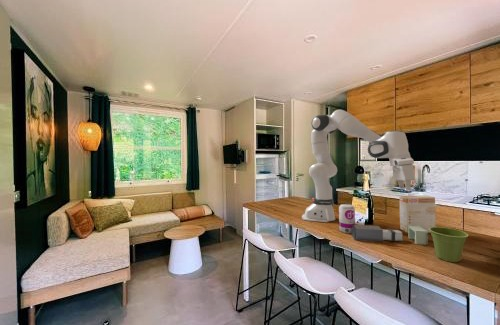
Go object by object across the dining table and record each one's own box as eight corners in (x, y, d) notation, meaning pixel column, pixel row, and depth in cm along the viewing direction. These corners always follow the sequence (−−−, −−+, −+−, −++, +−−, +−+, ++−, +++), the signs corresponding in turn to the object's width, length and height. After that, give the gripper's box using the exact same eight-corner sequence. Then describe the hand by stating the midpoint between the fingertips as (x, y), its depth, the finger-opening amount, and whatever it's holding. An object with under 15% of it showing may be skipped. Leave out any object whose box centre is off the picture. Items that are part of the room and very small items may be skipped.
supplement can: (358, 233, 118) (357, 206, 118) (343, 234, 118) (342, 207, 118) (350, 228, 126) (350, 203, 126) (337, 229, 126) (336, 204, 126)
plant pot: (443, 265, 82) (442, 236, 82) (422, 251, 94) (422, 226, 94) (477, 266, 80) (477, 237, 80) (452, 252, 92) (452, 226, 92)
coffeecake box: (426, 228, 123) (426, 195, 122) (436, 233, 115) (435, 197, 115) (399, 228, 124) (398, 195, 124) (407, 232, 117) (406, 197, 117)
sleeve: (354, 240, 109) (354, 228, 109) (351, 235, 115) (351, 224, 115) (383, 241, 106) (382, 229, 106) (378, 236, 112) (378, 225, 112)
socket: (416, 244, 102) (415, 230, 102) (408, 238, 109) (408, 225, 109) (428, 244, 101) (427, 231, 101) (419, 238, 108) (419, 226, 108)
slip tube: (356, 239, 109) (356, 230, 109) (353, 235, 115) (353, 226, 115) (403, 241, 104) (402, 232, 104) (398, 237, 110) (397, 228, 110)
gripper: (387, 163, 117) (392, 188, 116) (398, 161, 98) (404, 191, 97) (401, 161, 115) (405, 187, 114) (415, 159, 96) (420, 190, 95)
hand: (405, 189), depth 105 cm, fingers open, 8 cm apart
